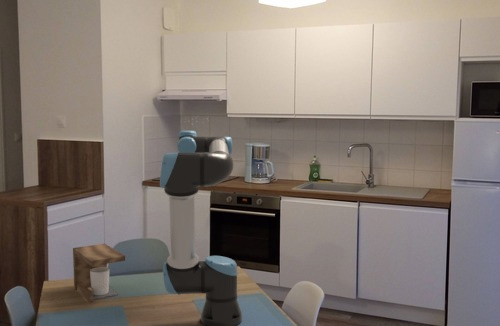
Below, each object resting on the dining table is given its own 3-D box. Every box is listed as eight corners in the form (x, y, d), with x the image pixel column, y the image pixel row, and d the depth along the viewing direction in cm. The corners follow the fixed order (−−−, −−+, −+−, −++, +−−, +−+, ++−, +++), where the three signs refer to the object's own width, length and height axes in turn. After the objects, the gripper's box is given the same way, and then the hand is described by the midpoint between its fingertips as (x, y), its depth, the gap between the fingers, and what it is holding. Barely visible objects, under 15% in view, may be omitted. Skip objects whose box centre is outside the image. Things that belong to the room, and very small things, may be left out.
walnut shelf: (105, 283, 247) (104, 243, 245) (126, 298, 227) (125, 255, 225) (73, 289, 239) (72, 248, 237) (91, 305, 219) (90, 261, 217)
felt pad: (108, 288, 240) (108, 287, 240) (117, 295, 231) (117, 294, 231) (83, 293, 233) (83, 291, 233) (91, 300, 224) (91, 299, 224)
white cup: (86, 294, 229) (86, 271, 228) (97, 289, 237) (96, 266, 236) (103, 296, 227) (102, 273, 226) (113, 290, 235) (113, 267, 234)
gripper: (197, 170, 224) (197, 221, 226) (196, 163, 248) (196, 210, 250) (178, 170, 223) (179, 222, 225) (179, 163, 248) (180, 210, 250)
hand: (188, 216), depth 238 cm, fingers open, 13 cm apart
